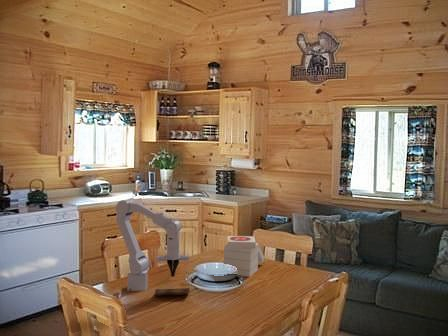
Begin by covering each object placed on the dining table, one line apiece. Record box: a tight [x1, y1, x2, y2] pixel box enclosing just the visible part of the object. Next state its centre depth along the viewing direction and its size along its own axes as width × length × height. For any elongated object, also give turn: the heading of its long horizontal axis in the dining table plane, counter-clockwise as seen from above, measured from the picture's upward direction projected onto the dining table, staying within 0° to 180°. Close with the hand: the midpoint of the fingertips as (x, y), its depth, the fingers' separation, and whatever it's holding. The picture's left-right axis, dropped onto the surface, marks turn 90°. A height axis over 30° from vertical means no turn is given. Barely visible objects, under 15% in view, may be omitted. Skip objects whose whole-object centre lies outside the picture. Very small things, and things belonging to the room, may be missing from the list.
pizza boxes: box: [223, 235, 265, 278], centre depth 266 cm, size 19×30×18 cm, turn 159°
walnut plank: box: [154, 287, 190, 297], centre depth 215 cm, size 15×9×2 cm, turn 99°
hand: (172, 276), depth 219 cm, fingers closed
